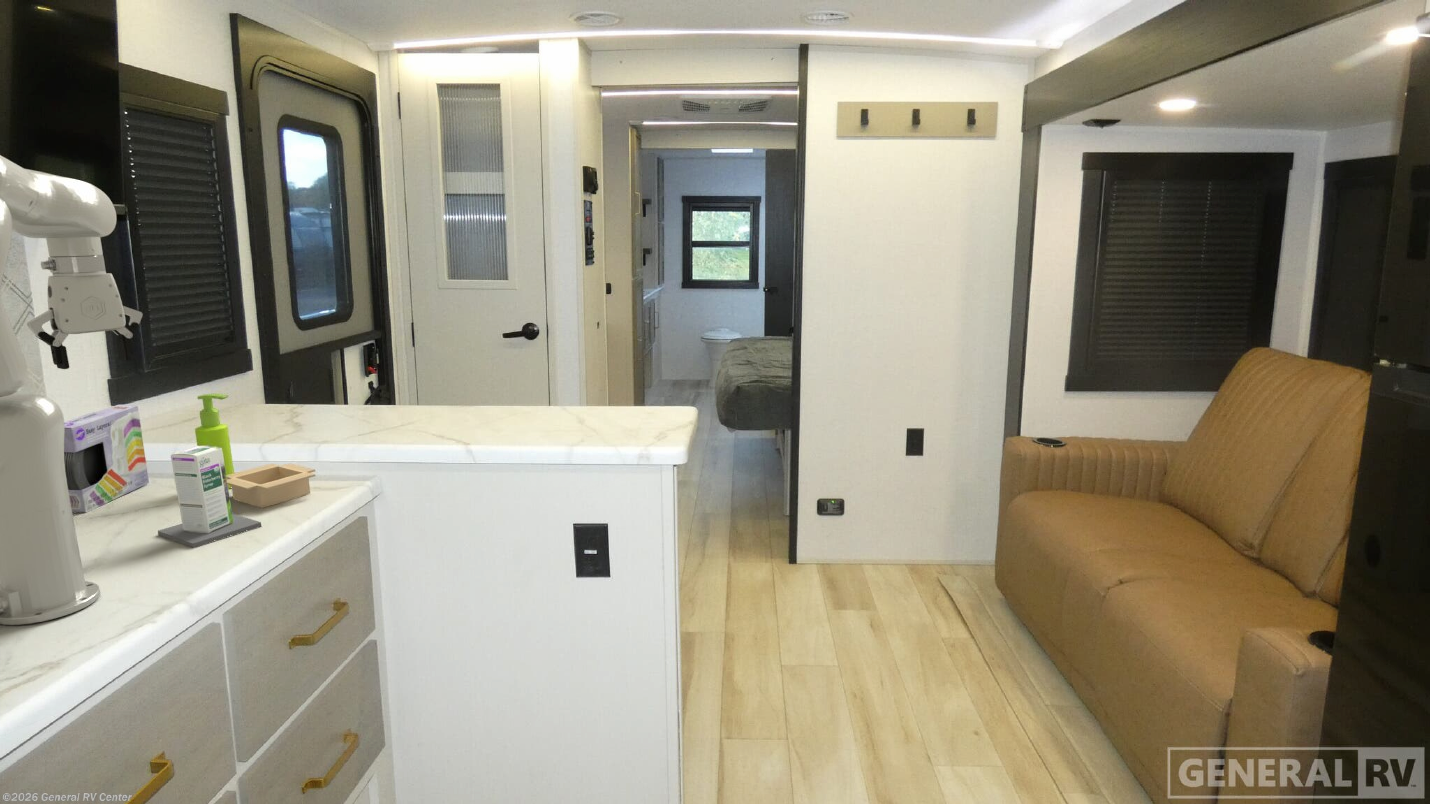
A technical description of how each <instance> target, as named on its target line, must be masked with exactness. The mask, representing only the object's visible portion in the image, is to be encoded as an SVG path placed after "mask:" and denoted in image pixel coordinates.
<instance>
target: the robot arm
mask: <svg viewBox="0 0 1430 804" xmlns="http://www.w3.org/2000/svg"><path fill="white" fill-rule="evenodd" d="M116 211H117V210H116V209H115V206H114V204H113V201H111V199H110V197H109V196H108V195H107V194H106V193H105V192H104V191H102V189H100V188H98V187H97V186H95V185H93V184H92V183H89V182H87V181H83V180H81V179H80V180H79V179H76V178H71V177H66V176H60V175H57V174H56V175H55V174H52V173H47V172H44V171H39V170H38V171H37V170H33V169H28V168H24V167H22V166H20V165H18V164H17V163H15V162H13V161H11V160H10V159H8V158H7V157H4V156H2V155H1V154H0V624H1V625H8V626H9V625H10V626H19V625H20V626H21V625H29V624H31V625H32V624H37V623H42V622H47V621H51V620H54V619H55V620H56V619H59V618H62V617H65V616H69V615H70V614H73V613H76V612H79V611H80V610H82V609H85V608H86V607H89V606H91V605H92V604H93V603H94V602H96V601H97V600H98V599H99V597H100V596H101V589H100V585H99V584H97V583H95V582H92V581H87V580H86V579H85V575H84V570H83V563H82V559H81V553H80V548H79V542H78V536H77V532H76V525H75V521H74V520H75V519H74V515H73V514H74V513H72V508H71V503H70V497H69V491H68V486H67V479H66V473H65V464H64V422H65V419H64V413H63V412H62V409H61V407H60V406H59V404H58V403H56V401H54V400H52V399H51V398H49V397H46V396H44V395H39V394H33V393H18V392H20V391H21V390H22V389H23V388H24V387H25V385H27V382H28V378H29V371H28V366H27V361H26V358H25V355H24V353H23V350H22V347H21V345H20V343H19V342H20V341H19V340H18V338H17V337H18V336H17V335H16V333H15V331H14V328H13V325H12V323H11V321H10V318H9V316H8V313H7V311H6V308H5V305H4V302H3V298H2V290H1V288H2V282H3V276H4V273H5V268H6V264H7V260H8V256H9V251H10V247H11V242H12V236H13V231H14V232H16V233H17V234H19V235H21V236H23V237H26V238H31V239H45V240H46V245H47V250H48V257H47V260H45V261H40V267H41V269H42V270H48V271H49V272H50V273H52V275H49V276H48V278H47V308H48V310H47V311H45V312H43V313H41V314H39V315H38V316H36V317H34V318H32V319H30V320H29V321H27V323H26V326H27V327H28V329H30V331H31V332H32V333H33V334H34V335H35V337H36V338H37V339H39V340H40V341H42V342H44V343H45V344H46V345H47V346H50V351H51V358H52V363H53V364H54V365H55V366H56V367H57V369H61V370H69V368H70V362H69V357H68V351H67V350H68V349H67V346H65V345H63V343H64V342H65V340H66V339H67V337H68V336H69V335H80V334H89V333H99V332H108V331H111V332H113V333H114V334H116V335H117V337H116V338H115V345H116V350H117V355H118V359H119V360H121V361H125V362H128V361H130V362H131V361H132V357H131V356H133V349H132V344H131V338H133V335H134V333H136V331H137V330H138V329H139V328H140V323H141V322H142V321H141V320H142V318H143V315H144V314H143V312H142V311H139V310H136V309H133V308H130V307H127V306H125V305H123V301H122V299H121V295H120V291H119V288H118V286H117V283H116V280H115V278H114V276H113V274H112V273H111V272H110V273H109V272H108V273H107V271H106V270H107V269H106V265H105V259H104V255H103V254H104V253H103V247H102V241H101V238H103V237H107V236H109V235H110V234H112V232H113V231H114V230H115V228H116V225H117V220H118V219H117V212H116ZM126 316H129V322H128V323H127V322H126V319H127V318H126ZM48 322H49V324H50V328H51V329H52V332H51V334H49V333H48V332H46V330H44V328H43V325H45V324H46V323H48ZM126 323H127V324H126Z"/></svg>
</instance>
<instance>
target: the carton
mask: <svg viewBox="0 0 1430 804" xmlns="http://www.w3.org/2000/svg"><path fill="white" fill-rule="evenodd" d="M314 472H316V469H314V468H311V467H307V466H303V465H302V466H301V465H299V464H293V463H290V462H289V463H287V464H286V463H285V464H283V465H279V464H276V463H268V464H265V465H261V466H258V467H254V468H253V467H252V468H250V469H245V470H242V471H239V472H234V474H230V475H226V478H227V479H228V480H227V484H228V485H231V486H232V488H231V491H232V498H233V500H234V499H235V500H234V501H237V500H239V501H238V502H240V503H241V502H242V503H245V504H247V503H248V505H252V506H254V507H258V508H260V509H263V508H266V507H269V506H272V505H277V504H280V503H284V502H286V501H291V500H293V499H296V498H300V497H304V496H306V495H307V496H308V495H310V494H311V487H310V480H309V479H310V478H314V477H316V473H314Z"/></svg>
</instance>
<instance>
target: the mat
mask: <svg viewBox="0 0 1430 804" xmlns="http://www.w3.org/2000/svg"><path fill="white" fill-rule="evenodd" d="M232 516H233V523H231V524H228V525H226V526H223V527H221V528H218V529H216V530H214V531H212V532H210V533H198V532H190V531H185V530H183V525H182V523H180V524H176V525H172V526H170V527H165V528H162V529H159V530H157V535H158V536H160V535H161V536H160V537H163V538H165V537H166V538H165V539H168V540H171V541H173V540H174V541H173V542H176V543H179V544H182V545H185V546H187V547H189V548H192V549H194V547H195V548H197V547H200V545H201V546H203V545H202V544H204V545H207V544H210V543H209V542H211V543H213V542H212V541H214V540H217V541H219V539H220V540H222V539H221V538H223V537H226V538H228V537H227V536H230V535H233V536H236V535H238V534H237V533H239V534H242V533H245V532H247V531H246V530H248V531H251V529H252V530H254V528H255V529H258V528H260V526H261V527H262V523H261V522H260V521H258V520H256V519H255V520H254V519H252V518H248V517H245V516H243V515H239V514H235V513H233V512H232ZM257 527H258V528H257ZM244 531H245V532H244ZM241 532H242V533H241ZM235 534H236V535H235ZM230 537H231V536H230ZM223 539H224V538H223ZM214 542H215V541H214ZM206 543H207V544H206Z"/></svg>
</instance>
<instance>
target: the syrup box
mask: <svg viewBox="0 0 1430 804" xmlns="http://www.w3.org/2000/svg"><path fill="white" fill-rule="evenodd" d="M170 460H171V465H172V472H173V478H174V484H175V488H176V496H177V501H178V505H179V513H180V517H181V524H182V525H183V530H185V531H190V532H198V533H210V532H212V531H214V530H216V529H218V528H221V527H223V526H226V525H228V524H231V523H233V516H232V513H233V512H232V511H233V510H232V504H231V499H230V491H229V489H228V484H227V478H226V471H225V465H224V459H223V452H222V448H220V447H215V446H197V445H196V446H194V447H191V448H189V449H185V450H182V451H179V452H175V453H172V454H170Z"/></svg>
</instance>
